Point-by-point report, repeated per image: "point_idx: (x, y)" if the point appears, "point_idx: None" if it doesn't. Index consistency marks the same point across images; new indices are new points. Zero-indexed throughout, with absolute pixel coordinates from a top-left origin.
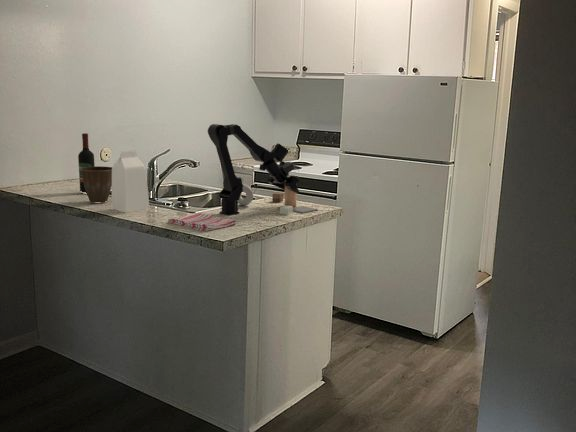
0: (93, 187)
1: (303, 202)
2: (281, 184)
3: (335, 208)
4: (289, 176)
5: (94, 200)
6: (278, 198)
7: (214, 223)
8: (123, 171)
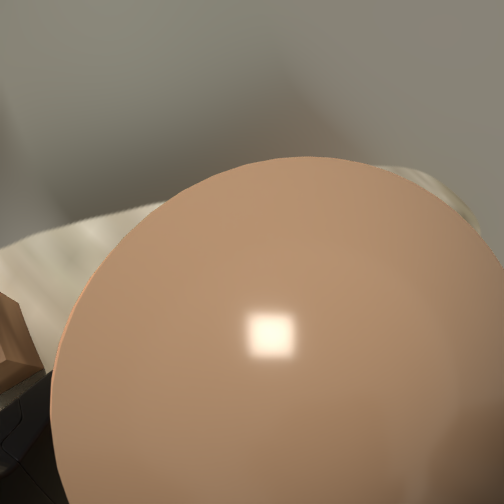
0: None
1: (161, 204)
2: (63, 495)
3: (423, 178)
4: (305, 482)
5: None
6: (16, 372)
7: None
8: None
